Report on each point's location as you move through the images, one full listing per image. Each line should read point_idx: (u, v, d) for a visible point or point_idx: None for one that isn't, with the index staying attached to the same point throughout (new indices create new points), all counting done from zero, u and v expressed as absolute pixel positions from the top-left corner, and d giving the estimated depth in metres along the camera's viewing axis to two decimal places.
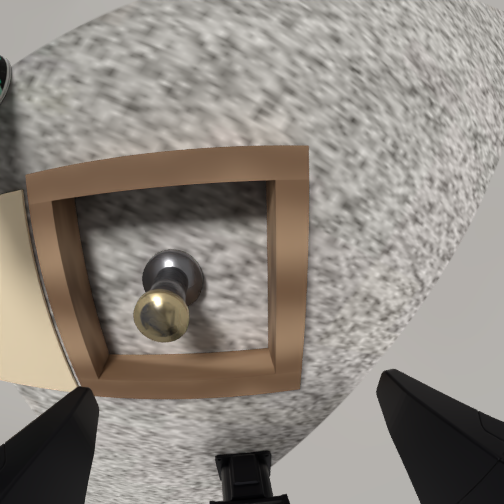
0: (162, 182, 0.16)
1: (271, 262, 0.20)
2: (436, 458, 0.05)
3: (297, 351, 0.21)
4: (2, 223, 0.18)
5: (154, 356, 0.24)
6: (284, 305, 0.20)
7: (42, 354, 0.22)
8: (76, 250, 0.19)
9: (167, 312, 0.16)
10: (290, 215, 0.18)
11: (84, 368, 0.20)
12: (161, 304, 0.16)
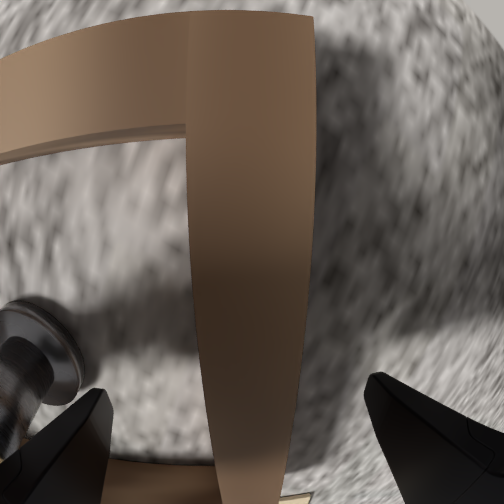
0: None
1: None
2: (422, 464, 0.05)
3: (74, 49, 0.03)
4: None
5: None
6: None
7: None
8: None
9: None
10: None
11: None
12: None
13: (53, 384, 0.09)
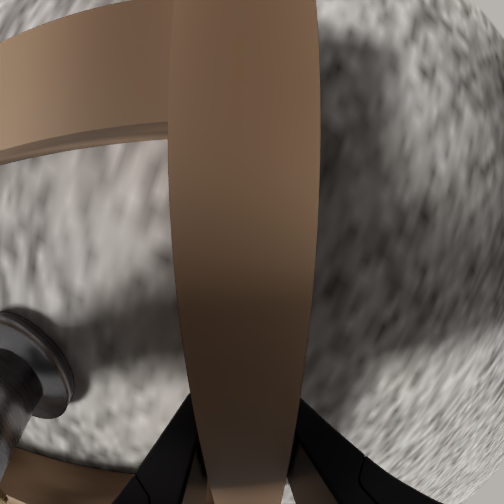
0: None
1: None
2: (310, 499, 0.05)
3: (46, 42, 0.03)
4: None
5: None
6: None
7: None
8: (34, 468, 0.09)
9: None
10: None
11: None
12: None
13: (42, 397, 0.08)
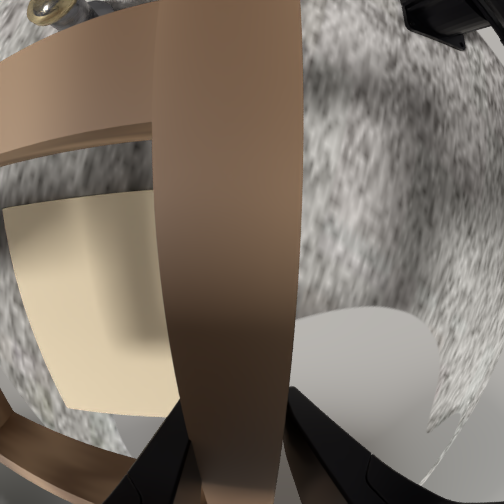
0: None
1: None
2: (316, 498, 0.05)
3: (51, 53, 0.03)
4: (29, 242, 0.18)
5: None
6: None
7: None
8: (49, 444, 0.11)
9: None
10: None
11: None
12: (37, 0, 0.08)
13: None
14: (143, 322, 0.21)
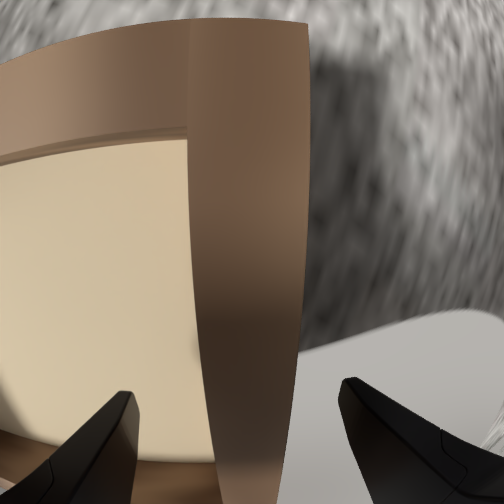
0: None
1: None
2: (392, 476, 0.05)
3: (78, 54, 0.04)
4: None
5: None
6: None
7: None
8: (41, 457, 0.10)
9: None
10: None
11: None
12: None
13: None
14: (46, 337, 0.09)
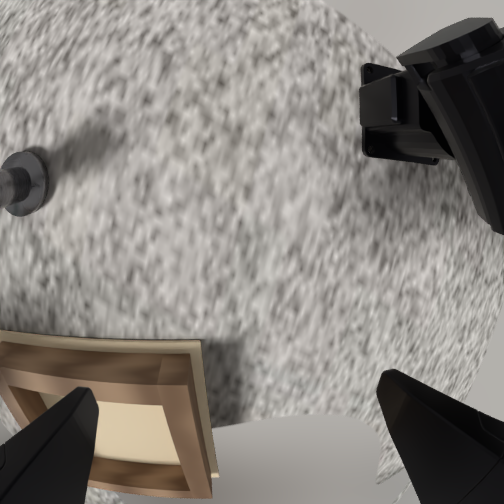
0: None
1: None
2: (436, 458, 0.05)
3: (129, 388, 0.17)
4: None
5: None
6: None
7: None
8: (103, 465, 0.24)
9: None
10: (20, 380, 0.16)
11: (181, 494, 0.22)
12: None
13: (28, 196, 0.15)
14: (114, 420, 0.23)
